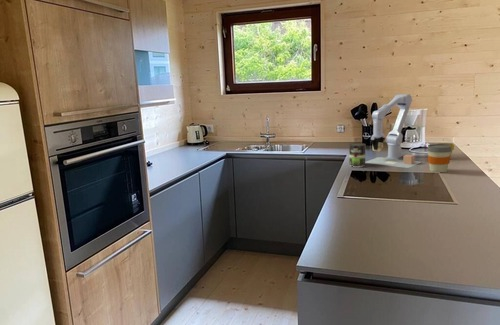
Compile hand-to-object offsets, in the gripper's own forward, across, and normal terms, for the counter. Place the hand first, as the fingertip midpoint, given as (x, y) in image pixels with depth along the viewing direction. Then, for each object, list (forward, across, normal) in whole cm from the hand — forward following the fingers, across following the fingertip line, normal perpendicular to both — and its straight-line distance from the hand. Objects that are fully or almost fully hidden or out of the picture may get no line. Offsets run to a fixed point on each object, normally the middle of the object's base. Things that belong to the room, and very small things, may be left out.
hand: (377, 149), depth 256 cm
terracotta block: (+8, -1, +21) cm, 22 cm away
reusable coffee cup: (+8, +7, +42) cm, 43 cm away
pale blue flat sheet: (+8, +1, +11) cm, 14 cm away
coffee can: (+8, +19, -4) cm, 21 cm away
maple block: (+1, 0, 0) cm, 1 cm away
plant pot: (+8, -28, +33) cm, 44 cm away
